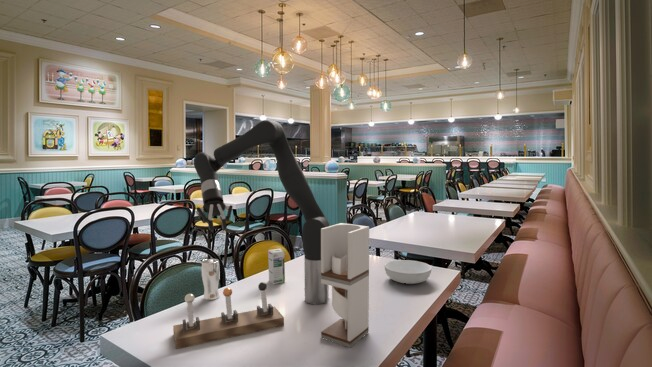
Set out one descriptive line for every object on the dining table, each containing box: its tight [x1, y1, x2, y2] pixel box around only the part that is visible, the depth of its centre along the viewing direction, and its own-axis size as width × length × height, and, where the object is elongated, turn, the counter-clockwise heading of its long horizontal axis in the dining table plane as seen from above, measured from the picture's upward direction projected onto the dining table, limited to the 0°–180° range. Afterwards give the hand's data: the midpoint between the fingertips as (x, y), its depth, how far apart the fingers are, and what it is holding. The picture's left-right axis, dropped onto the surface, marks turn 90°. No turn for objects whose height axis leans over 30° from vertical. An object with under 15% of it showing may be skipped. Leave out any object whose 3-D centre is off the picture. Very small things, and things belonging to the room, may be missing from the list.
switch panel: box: [172, 303, 285, 350], centre depth 125 cm, size 34×10×6 cm, turn 116°
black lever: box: [257, 281, 269, 314], centre depth 131 cm, size 3×3×11 cm
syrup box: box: [267, 248, 286, 285], centre depth 171 cm, size 6×6×14 cm
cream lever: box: [184, 293, 196, 329], centre depth 121 cm, size 3×3×11 cm
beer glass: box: [201, 258, 221, 301], centre depth 153 cm, size 7×7×15 cm
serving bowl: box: [384, 259, 433, 285], centre depth 172 cm, size 21×21×7 cm
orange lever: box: [222, 287, 234, 321], centre depth 126 cm, size 3×3×11 cm
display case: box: [320, 222, 370, 349], centre depth 120 cm, size 11×11×35 cm
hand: (218, 229), depth 140 cm, fingers open, 3 cm apart
